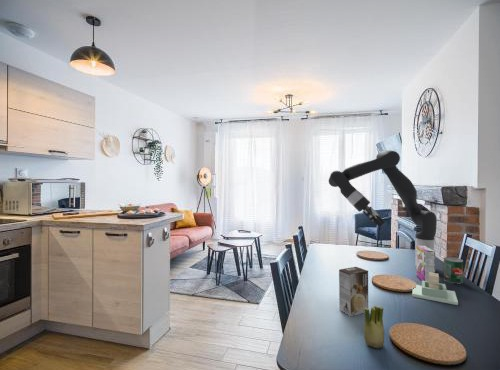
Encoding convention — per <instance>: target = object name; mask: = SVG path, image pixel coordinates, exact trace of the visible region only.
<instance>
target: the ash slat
mask: <svg viewBox="0 0 500 370" xmlns="http://www.w3.org/2000/svg"><path fill="white" fill-rule="evenodd" d="M439 283H440V276H439V273H436V272H435V273H430V272H429V288H434V289H439Z"/></svg>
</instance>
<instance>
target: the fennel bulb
mask: <svg viewBox="0 0 500 370" xmlns="http://www.w3.org/2000/svg"><path fill="white" fill-rule="evenodd" d="M373 306H374V307H371V308H370V309H369V307H368V308H365V313H364V327H363V329H364V330H363V335H364V342H365V343H366V345H367V346H369V347H371V348H374V349H382V348H383V347H384V343H385V326H384V323H383V316H384V308H383V307H382V306H378V305H373Z"/></svg>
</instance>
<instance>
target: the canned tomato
mask: <svg viewBox="0 0 500 370" xmlns="http://www.w3.org/2000/svg"><path fill="white" fill-rule="evenodd" d="M443 281H444V282H446V281H447V282H446V283H449V284H454V283H457V285H459V284H460V285H462V284H463V283H464V260H463V259H460V258H458V257H452V256H451V257H449V256H446V257H445V256H444V257H443ZM461 283H462V284H461Z"/></svg>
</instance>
